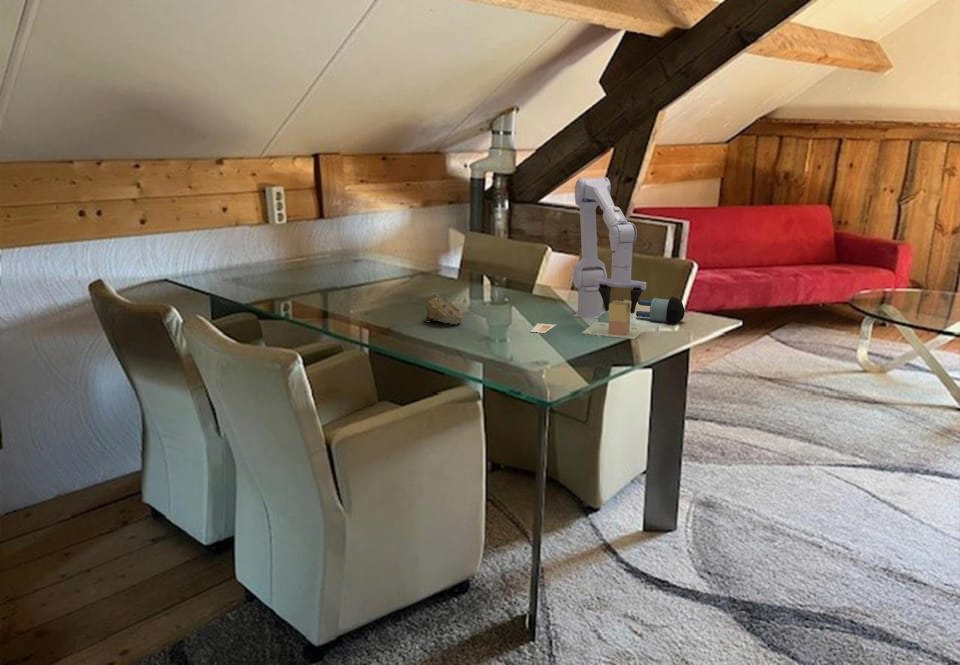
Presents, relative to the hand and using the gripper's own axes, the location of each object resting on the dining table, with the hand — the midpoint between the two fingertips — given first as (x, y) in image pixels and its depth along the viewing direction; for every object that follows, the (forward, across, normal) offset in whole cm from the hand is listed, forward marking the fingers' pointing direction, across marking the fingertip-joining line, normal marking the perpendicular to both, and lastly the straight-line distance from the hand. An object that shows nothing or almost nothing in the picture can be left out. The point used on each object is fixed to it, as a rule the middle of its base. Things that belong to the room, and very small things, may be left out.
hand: (619, 311), depth 217 cm
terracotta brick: (+6, 0, 0) cm, 6 cm away
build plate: (+7, -2, +2) cm, 7 cm away
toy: (+7, +8, +18) cm, 21 cm away
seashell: (+7, -54, -10) cm, 55 cm away
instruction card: (+7, -22, -4) cm, 23 cm away
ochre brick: (+2, 0, 0) cm, 2 cm away
